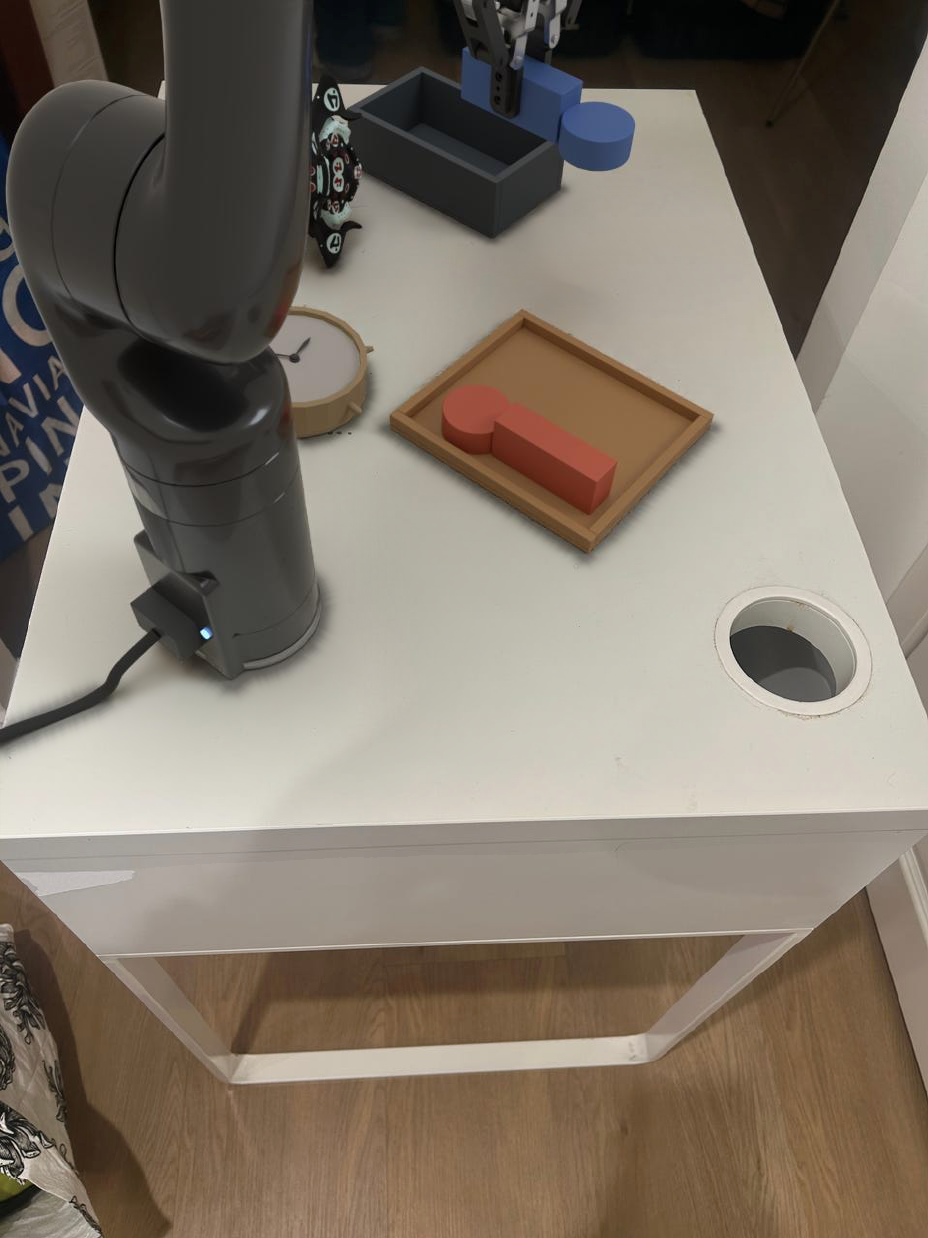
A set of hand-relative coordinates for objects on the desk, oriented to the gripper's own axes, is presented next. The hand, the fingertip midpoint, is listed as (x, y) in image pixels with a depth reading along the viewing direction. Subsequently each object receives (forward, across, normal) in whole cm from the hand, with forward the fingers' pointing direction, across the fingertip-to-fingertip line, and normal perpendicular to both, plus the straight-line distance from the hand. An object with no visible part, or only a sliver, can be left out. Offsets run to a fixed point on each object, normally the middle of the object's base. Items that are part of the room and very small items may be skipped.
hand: (518, 104), depth 72 cm
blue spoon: (+1, 0, +2) cm, 2 cm away
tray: (+15, +11, +14) cm, 24 cm away
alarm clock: (+15, +23, -5) cm, 28 cm away
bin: (+16, -9, -13) cm, 23 cm away
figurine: (+16, +8, -18) cm, 25 cm away
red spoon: (+15, +16, +15) cm, 26 cm away
